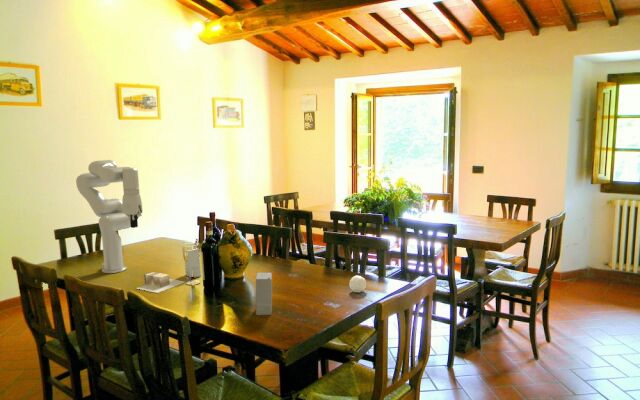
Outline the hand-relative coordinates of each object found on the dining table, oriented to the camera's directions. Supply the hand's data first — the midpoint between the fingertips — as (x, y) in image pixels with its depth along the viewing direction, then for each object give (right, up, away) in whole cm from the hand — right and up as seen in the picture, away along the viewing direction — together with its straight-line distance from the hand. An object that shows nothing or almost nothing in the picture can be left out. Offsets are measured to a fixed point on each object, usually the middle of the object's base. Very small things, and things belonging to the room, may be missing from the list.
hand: (134, 227), depth 244 cm
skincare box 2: (+73, -33, -47) cm, 93 cm away
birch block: (+10, -25, -6) cm, 28 cm away
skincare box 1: (+29, -26, +5) cm, 39 cm away
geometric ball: (+114, -29, -25) cm, 120 cm away
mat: (+17, -28, -10) cm, 35 cm away
